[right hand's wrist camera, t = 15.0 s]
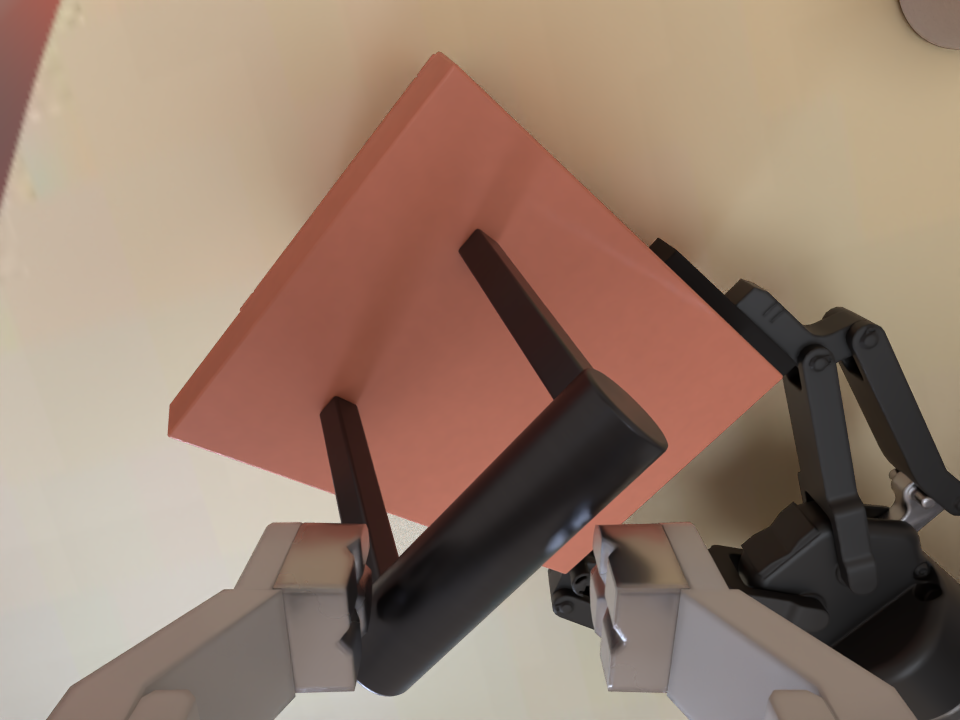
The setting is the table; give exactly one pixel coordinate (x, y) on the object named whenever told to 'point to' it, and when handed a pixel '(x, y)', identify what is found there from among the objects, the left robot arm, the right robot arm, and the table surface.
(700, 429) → the lid
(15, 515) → the table surface
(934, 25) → the coffee cup
